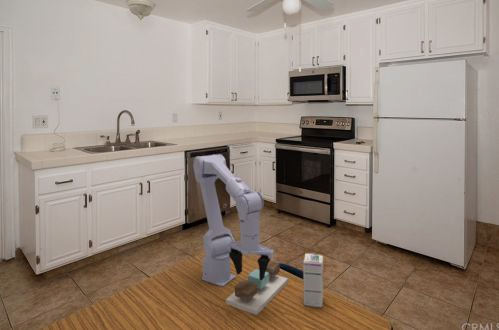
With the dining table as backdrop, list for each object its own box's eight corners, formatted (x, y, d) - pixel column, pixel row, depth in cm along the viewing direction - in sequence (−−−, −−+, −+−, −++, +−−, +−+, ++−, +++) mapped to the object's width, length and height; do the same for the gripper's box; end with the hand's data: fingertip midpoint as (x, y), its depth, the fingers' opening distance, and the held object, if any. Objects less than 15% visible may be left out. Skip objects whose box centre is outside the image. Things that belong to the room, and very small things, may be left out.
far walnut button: (259, 274, 110) (259, 265, 109) (266, 268, 114) (266, 260, 113) (272, 278, 107) (272, 269, 106) (279, 272, 111) (279, 263, 111)
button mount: (226, 303, 99) (225, 293, 98) (260, 274, 116) (260, 265, 116) (256, 315, 93) (256, 304, 92) (287, 282, 110) (288, 273, 110)
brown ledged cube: (234, 296, 97) (234, 286, 96) (243, 288, 101) (243, 278, 101) (248, 300, 94) (248, 290, 94) (257, 292, 99) (257, 283, 98)
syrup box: (322, 308, 96) (323, 262, 94) (302, 305, 97) (303, 260, 95) (322, 297, 101) (324, 254, 99) (304, 295, 103) (304, 252, 100)
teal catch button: (248, 284, 103) (247, 275, 103) (256, 277, 107) (255, 268, 107) (261, 288, 101) (261, 279, 100) (269, 281, 105) (269, 272, 104)
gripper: (221, 233, 94) (223, 276, 97) (267, 242, 88) (267, 287, 90) (233, 225, 100) (234, 266, 103) (276, 233, 94) (276, 276, 96)
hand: (250, 275), depth 97 cm, fingers open, 7 cm apart
